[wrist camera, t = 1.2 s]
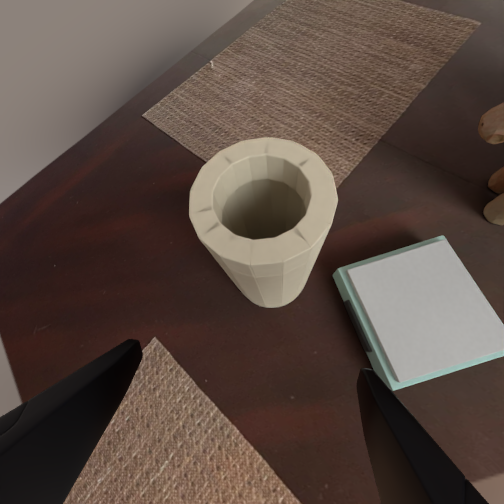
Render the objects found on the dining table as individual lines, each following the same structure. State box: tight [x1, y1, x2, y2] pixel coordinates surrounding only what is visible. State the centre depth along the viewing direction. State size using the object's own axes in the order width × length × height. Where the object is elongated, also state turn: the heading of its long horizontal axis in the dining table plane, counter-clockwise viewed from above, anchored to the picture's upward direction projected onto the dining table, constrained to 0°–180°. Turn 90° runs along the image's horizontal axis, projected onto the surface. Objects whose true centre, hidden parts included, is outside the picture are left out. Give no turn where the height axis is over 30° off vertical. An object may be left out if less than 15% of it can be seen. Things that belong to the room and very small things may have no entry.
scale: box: [332, 235, 504, 391], centre depth 20 cm, size 10×10×3 cm
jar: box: [189, 137, 338, 308], centre depth 18 cm, size 7×7×14 cm
